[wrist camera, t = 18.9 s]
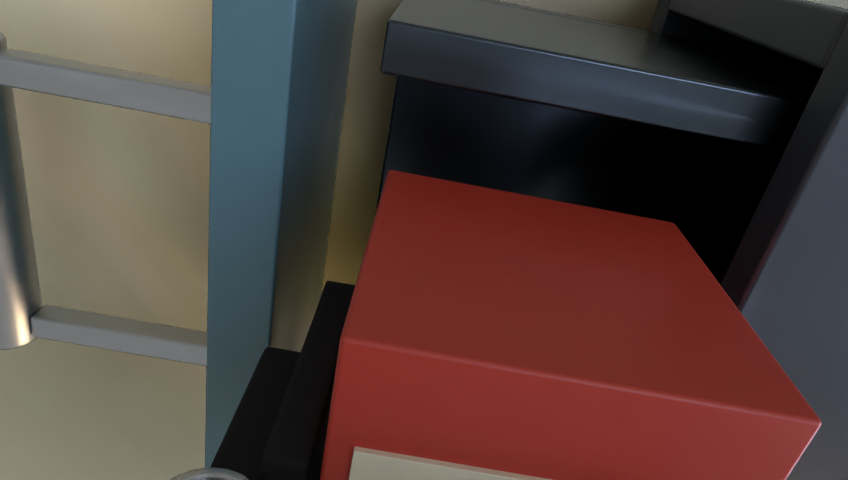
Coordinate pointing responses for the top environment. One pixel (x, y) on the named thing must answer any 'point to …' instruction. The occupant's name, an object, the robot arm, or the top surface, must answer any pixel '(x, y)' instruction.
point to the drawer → (409, 150)
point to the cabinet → (795, 211)
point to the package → (548, 350)
